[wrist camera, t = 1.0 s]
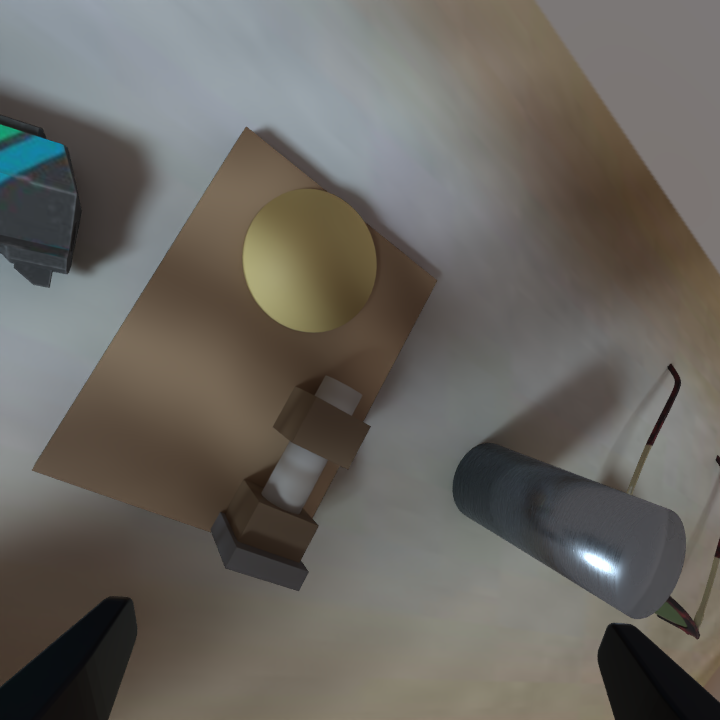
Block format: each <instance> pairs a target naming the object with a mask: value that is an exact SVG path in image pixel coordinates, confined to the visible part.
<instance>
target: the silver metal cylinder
mask: <svg viewBox="0 0 720 720" xmlns="http://www.w3.org/2000/svg"><path fill="white" fill-rule="evenodd" d="M453 497H454V501H455V504H456V506H457V507H458V509H459V510H460V512H462V513H463V514H464V515H466V516H467V517H469V518H470V519H472V520H474V521H475V522H477V523H478V524H480V525H482V526H483V527H485V528H487V529H488V530H490V531H491V532H493V533H495V534H496V535H498V536H500V537H501V538H503V539H504V540H506V541H508V542H509V543H511V544H512V545H514V546H516V547H517V548H519V549H521V550H522V551H524V552H525V553H527V554H529V555H530V556H532V557H534V558H535V559H537V560H538V561H540V562H542V563H543V564H545V565H546V566H548V567H550V568H551V569H553V570H555V571H556V572H558V573H559V574H561V575H563V576H564V577H566V578H568V579H569V580H571V581H572V582H574V583H576V584H577V585H579V586H580V587H582V588H584V589H585V590H587V591H589V592H590V593H592V594H593V595H595V596H597V597H598V598H600V599H602V600H603V601H605V602H606V603H608V604H610V605H611V606H613V607H615V608H616V609H618V610H619V611H621V612H623V613H624V614H626V615H627V616H629V617H631V618H634V619H642V618H646V617H648V616H650V615H652V614H653V613H655V612H656V611H657V610H658V609H659V608H660V607H661V606H662V605H663V604H664V603H665V602H666V600H667V599H668V598H669V596H670V595H671V593H672V591H673V590H674V588H675V586H676V584H677V581H678V579H679V576H680V574H681V570H682V567H683V563H684V558H685V551H686V537H685V530H684V526H683V523H682V521H681V519H680V518H679V516H678V515H677V514H676V513H675V512H674V511H672V510H670V509H667V508H664V507H662V506H659V505H656V504H654V503H651V502H648V501H646V500H643V499H640V498H638V497H635V496H632V495H630V494H627V493H624V492H622V491H619V490H616V489H614V488H611V487H608V486H606V485H603V484H600V483H598V482H595V481H592V480H590V479H587V478H584V477H582V476H579V475H576V474H574V473H571V472H568V471H566V470H563V469H561V468H558V467H555V466H553V465H550V464H547V463H545V462H542V461H539V460H537V459H534V458H531V457H529V456H526V455H523V454H521V453H518V452H515V451H513V450H510V449H507V448H505V447H502V446H499V445H497V444H493V443H485V444H481V445H478V446H476V447H475V448H473V449H472V450H470V451H469V452H468V453H467V454H466V455H465V456H464V458H463V459H462V460H461V462H460V464H459V465H458V468H457V470H456V473H455V476H454V480H453Z"/></svg>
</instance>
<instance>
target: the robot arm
mask: <svg viewBox="0 0 720 720" xmlns="http://www.w3.org/2000/svg"><path fill="white" fill-rule="evenodd" d="M136 636H137V623H136V617H135V611H134V605H133V601H132V599H131V598H130V597H119V596H111V597H108V598H106V599H104V600H103V601H102V602H101V603H99V604H98V605H97V606H96V607H95V608H94V609H92V610H91V611H90V612H89V613H88V614H86V615H85V616H84V617H83V618H82V619H80V620H79V621H78V622H77V623H76V624H75V625H73V626H72V627H71V628H70V629H69V630H67V631H66V632H65V633H64V634H63V635H61V636H60V637H59V638H58V639H57V640H56V641H54V642H53V643H52V644H51V645H50V646H48V647H47V648H46V649H45V650H44V651H42V652H41V653H40V654H39V655H38V656H37V657H35V658H34V659H33V660H32V661H31V662H29V663H28V664H27V665H26V666H25V667H23V668H22V669H21V670H20V671H19V672H18V673H16V674H15V675H14V676H13V677H12V678H10V679H9V680H8V681H7V682H6V683H4V684H3V685H2V686H1V687H0V720H108V719H109V716H110V713H111V710H112V707H113V704H114V701H115V698H116V695H117V693H118V690H119V687H120V684H121V681H122V678H123V675H124V672H125V669H126V667H127V664H128V661H129V658H130V655H131V652H132V649H133V646H134V643H135V640H136ZM598 665H599V668H600V672H601V675H602V678H603V682H604V685H605V688H606V692H607V695H608V698H609V701H610V705H611V708H612V711H613V715H614V718H615V720H720V702H719V701H717V700H716V699H715V698H714V697H713V696H712V695H711V694H710V693H709V692H707V691H706V690H705V689H704V688H703V687H702V686H701V685H700V684H699V683H698V682H696V681H695V680H694V679H693V678H692V677H691V676H690V675H689V674H688V673H686V672H685V671H684V670H683V669H682V668H681V667H680V666H679V665H678V664H677V663H675V662H674V661H673V660H672V659H671V658H670V657H669V656H668V655H667V654H665V653H664V652H663V651H662V650H661V649H660V648H659V647H658V646H657V645H655V644H654V643H653V642H652V641H651V640H650V639H649V638H648V637H647V636H645V635H644V634H643V633H642V632H641V631H640V630H639V629H638V628H636V627H635V626H633V625H631V624H624V623H611V624H609V625H608V626H607V628H606V631H605V634H604V636H603V639H602V642H601V644H600V647H599V649H598Z"/></svg>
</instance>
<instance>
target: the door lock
mask: <svg viewBox="0 0 720 720" xmlns="http://www.w3.org/2000/svg"><path fill="white" fill-rule="evenodd" d="M436 282H437V280H436V279H435V278H434V277H432V276H431V275H430V274H429V273H427V272H426V271H425V270H424V269H422V268H421V267H420V266H419V265H417V264H416V263H415V262H414V261H412V260H411V259H410V258H409V257H407V256H406V255H405V254H404V253H403V252H401V251H400V250H399V249H398V248H396V247H395V246H394V245H393V244H391V243H390V242H389V241H388V240H386V239H385V238H384V237H383V236H381V235H380V234H379V233H378V232H376V231H375V230H374V229H373V228H372V227H370V226H369V225H368V224H367V223H365V222H364V221H363V219H362V218H361V217H360V215H359V214H358V213H357V212H356V211H355V210H354V209H353V208H352V207H351V206H350V205H349V204H348V203H346V202H345V201H344V200H342V199H341V198H339V197H337V196H335V195H333V194H330V193H328V192H327V191H326V190H324V189H323V188H322V187H321V186H319V185H318V184H317V183H316V182H314V181H313V180H312V179H311V178H310V177H308V176H307V175H306V174H305V173H303V172H302V171H301V170H300V169H298V168H297V167H296V166H295V165H293V164H292V163H291V162H290V161H288V160H287V159H286V158H285V157H283V156H282V155H281V154H280V153H279V152H277V151H276V150H275V149H274V148H272V147H271V146H270V145H269V144H267V143H266V142H265V141H264V140H262V139H261V138H260V137H259V136H257V135H256V134H255V133H254V132H252V131H251V130H250V129H249V128H248V127H246V128H245V129H244V131H243V132H242V134H241V135H240V137H239V138H238V140H237V141H236V143H235V145H234V146H233V148H232V149H231V151H230V153H229V154H228V156H227V157H226V159H225V161H224V162H223V164H222V165H221V167H220V169H219V170H218V172H217V173H216V175H215V177H214V178H213V180H212V181H211V183H210V185H209V186H208V188H207V189H206V191H205V193H204V194H203V196H202V197H201V199H200V201H199V202H198V204H197V205H196V207H195V209H194V210H193V212H192V213H191V215H190V217H189V218H188V220H187V221H186V223H185V225H184V226H183V228H182V229H181V231H180V233H179V234H178V236H177V237H176V239H175V241H174V242H173V244H172V245H171V247H170V249H169V250H168V252H167V253H166V255H165V257H164V258H163V260H162V261H161V263H160V265H159V266H158V268H157V269H156V271H155V273H154V274H153V276H152V277H151V279H150V281H149V282H148V284H147V285H146V287H145V289H144V290H143V292H142V293H141V295H140V297H139V298H138V300H137V301H136V303H135V305H134V306H133V308H132V309H131V311H130V313H129V314H128V316H127V317H126V319H125V321H124V322H123V324H122V325H121V327H120V329H119V330H118V332H117V333H116V335H115V337H114V338H113V340H112V342H111V343H110V345H109V346H108V348H107V350H106V351H105V353H104V354H103V356H102V358H101V359H100V361H99V362H98V364H97V366H96V367H95V369H94V370H93V372H92V374H91V375H90V377H89V378H88V380H87V382H86V383H85V385H84V386H83V388H82V390H81V391H80V393H79V394H78V396H77V398H76V399H75V401H74V402H73V404H72V406H71V407H70V409H69V410H68V412H67V414H66V415H65V417H64V418H63V420H62V422H61V423H60V425H59V426H58V428H57V430H56V431H55V433H54V434H53V436H52V438H51V439H50V441H49V442H48V444H47V446H46V447H45V449H44V450H43V452H42V454H41V455H40V457H39V458H38V460H37V462H36V464H35V465H34V467H33V469H32V471H35V472H38V473H41V474H44V475H47V476H49V477H52V478H55V479H58V480H61V481H64V482H67V483H70V484H73V485H75V486H78V487H81V488H84V489H87V490H90V491H93V492H96V493H98V494H101V495H104V496H107V497H110V498H113V499H116V500H119V501H122V502H124V503H127V504H130V505H133V506H136V507H139V508H142V509H145V510H148V511H150V512H153V513H156V514H159V515H162V516H165V517H168V518H171V519H174V520H176V521H179V522H182V523H185V524H188V525H191V526H194V527H197V528H200V529H202V530H205V531H208V532H211V533H212V535H213V538H214V540H215V543H216V545H217V548H218V551H219V553H220V556H221V558H222V561H223V563H224V566H225V568H226V569H229V570H233V571H236V572H239V573H242V574H245V575H249V576H252V577H255V578H258V579H261V580H265V581H268V582H271V583H274V584H277V585H281V586H284V587H287V588H290V589H293V590H297V591H299V590H300V588H301V586H302V584H303V582H304V580H305V578H306V576H307V574H308V570H307V569H306V567H305V566H304V564H303V563H302V561H301V559H302V557H303V555H304V553H305V551H306V549H307V547H308V545H309V543H310V542H311V540H312V538H313V536H314V534H315V532H316V530H317V528H318V525H317V523H316V522H315V521H314V520H313V519H312V518H313V516H314V514H315V512H316V510H317V508H318V506H319V504H320V503H321V501H322V499H323V497H324V495H325V493H326V491H327V489H328V487H329V485H330V484H331V482H332V480H333V478H334V476H335V474H336V472H337V470H338V468H339V466H341V467H343V468H345V469H347V470H348V469H349V467H350V465H351V463H352V461H353V459H354V457H355V455H356V454H357V452H358V450H359V448H360V446H361V444H362V442H363V440H364V438H365V436H366V434H367V433H368V431H369V429H370V427H371V426H369V425H367V424H366V423H364V422H363V421H364V419H365V417H366V415H367V413H368V411H369V409H370V408H371V406H372V404H373V402H374V400H375V398H376V396H377V394H378V392H379V390H380V389H381V387H382V385H383V383H384V381H385V379H386V377H387V375H388V373H389V371H390V370H391V368H392V366H393V364H394V362H395V360H396V358H397V356H398V354H399V352H400V351H401V349H402V347H403V345H404V343H405V341H406V339H407V337H408V335H409V333H410V332H411V330H412V328H413V326H414V324H415V322H416V320H417V318H418V316H419V314H420V313H421V311H422V309H423V307H424V305H425V303H426V301H427V299H428V297H429V295H430V294H431V292H432V290H433V288H434V286H435V284H436Z"/></svg>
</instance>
